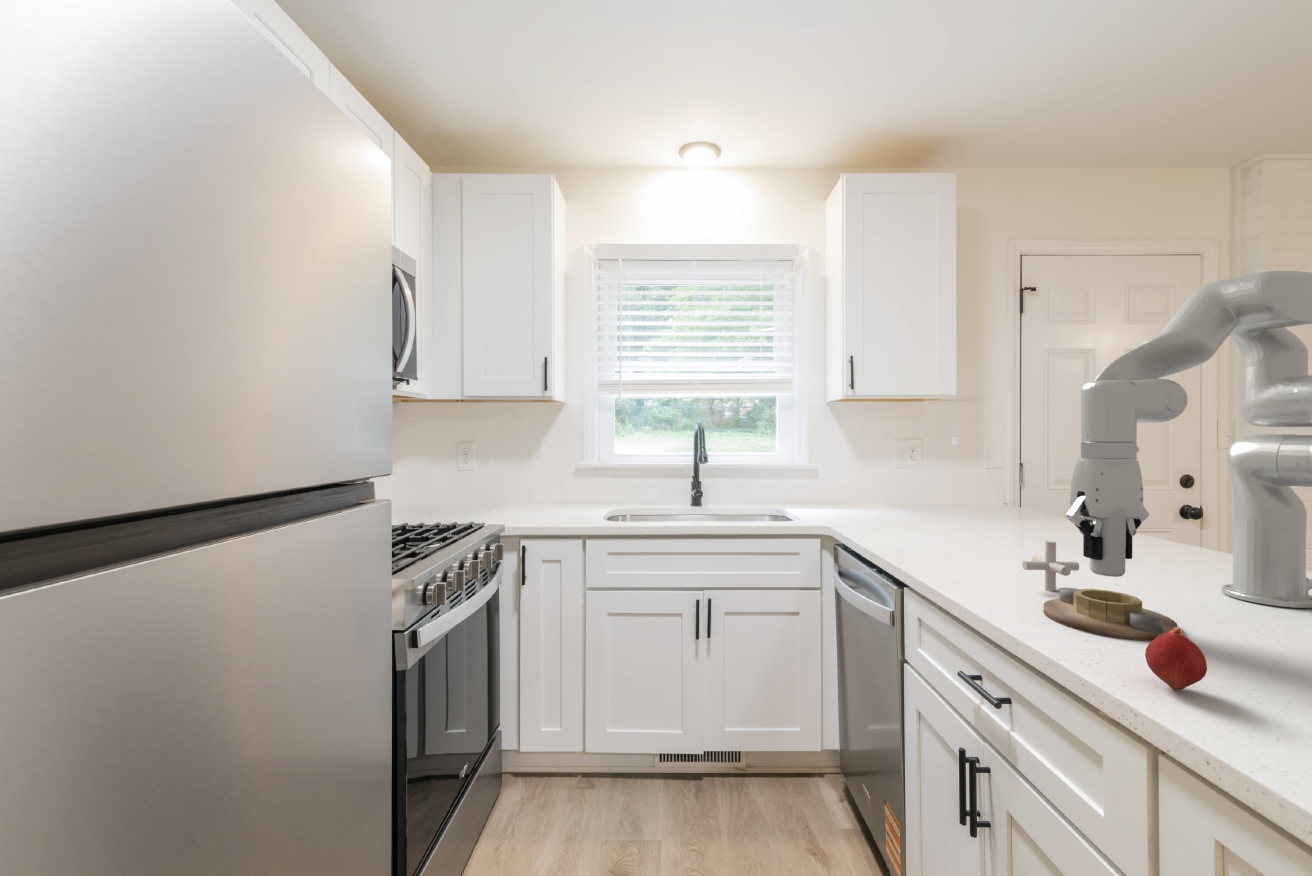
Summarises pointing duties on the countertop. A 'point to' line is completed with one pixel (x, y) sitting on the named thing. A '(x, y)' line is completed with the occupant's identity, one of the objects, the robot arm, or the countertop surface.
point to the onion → (1176, 659)
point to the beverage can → (1112, 546)
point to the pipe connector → (1050, 565)
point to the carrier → (1107, 614)
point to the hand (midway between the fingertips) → (1107, 556)
